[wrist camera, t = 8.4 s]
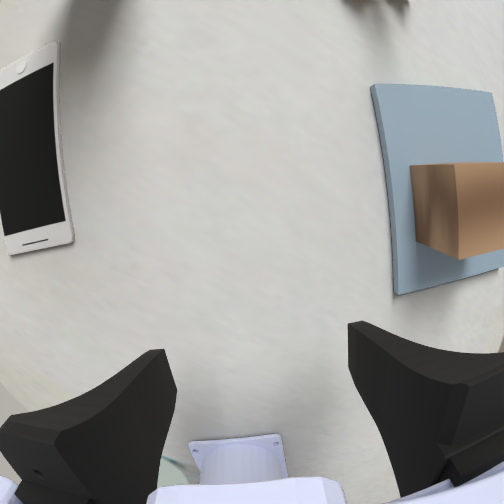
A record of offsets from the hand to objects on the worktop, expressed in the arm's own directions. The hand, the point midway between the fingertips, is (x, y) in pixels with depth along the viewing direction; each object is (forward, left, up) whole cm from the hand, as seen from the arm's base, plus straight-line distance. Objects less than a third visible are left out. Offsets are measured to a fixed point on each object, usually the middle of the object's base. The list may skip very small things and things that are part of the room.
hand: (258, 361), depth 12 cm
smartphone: (+13, +15, -10) cm, 22 cm away
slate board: (+5, -15, -9) cm, 18 cm away
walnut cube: (+4, -14, -8) cm, 16 cm away
